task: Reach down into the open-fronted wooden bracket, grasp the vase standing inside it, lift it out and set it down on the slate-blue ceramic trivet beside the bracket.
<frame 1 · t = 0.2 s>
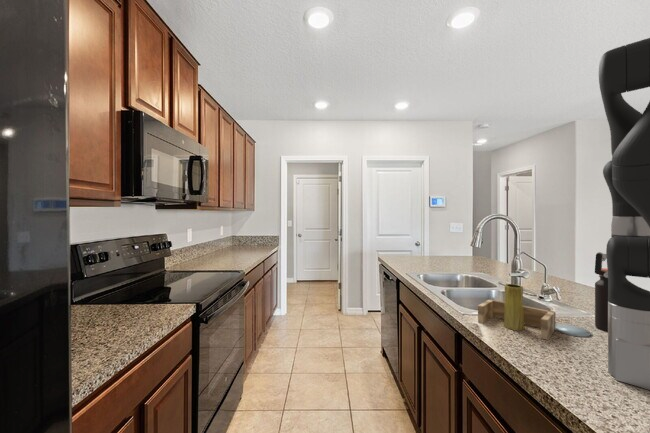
hand: (631, 293, 78), 17 cm above the worktop, tool pointing down, fingers open, 8 cm apart
wooden bracket: (514, 326, 101), on the worktop
trivet: (571, 331, 96), on the worktop
vase: (513, 327, 100), resting in wooden bracket
bottle: (608, 329, 98), on the worktop
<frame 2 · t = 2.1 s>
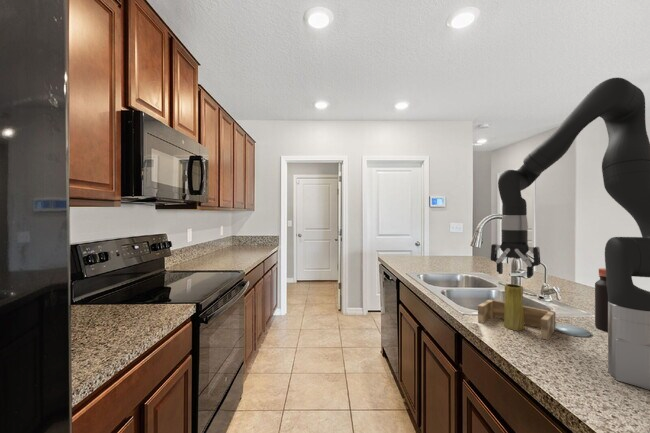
hand: (514, 275, 100), 18 cm above the worktop, tool pointing down, fingers open, 8 cm apart
nothing on the worktop moved.
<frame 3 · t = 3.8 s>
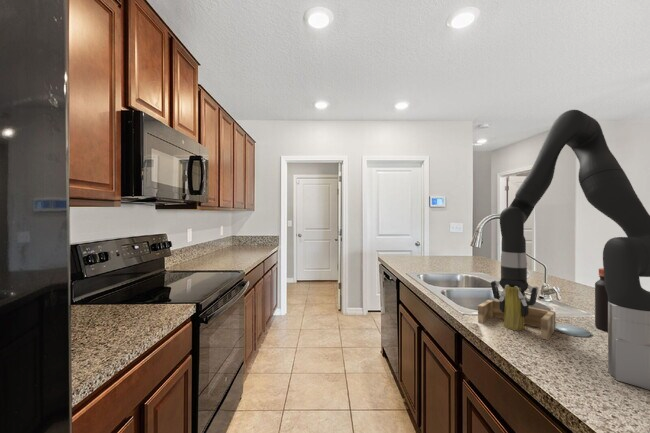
hand: (513, 313, 100), 5 cm above the worktop, tool pointing down, fingers closed on vase, 5 cm apart
vase: (513, 327, 100), resting in wooden bracket, touching gripper
everything else where it was.
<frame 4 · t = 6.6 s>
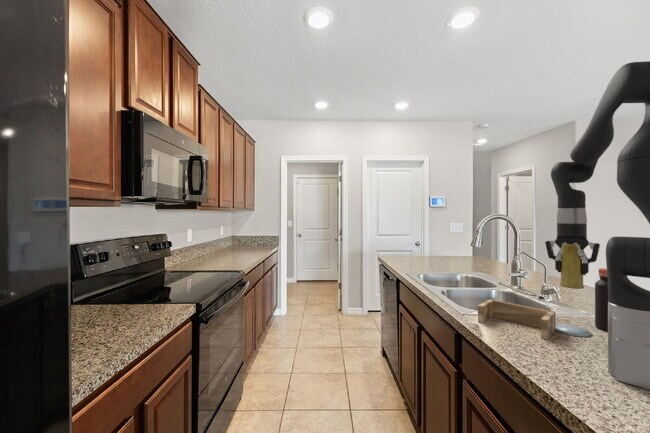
hand: (571, 273, 96), 19 cm above the worktop, tool pointing down, fingers closed on vase, 5 cm apart
vase: (571, 287, 96), point 14 cm above the worktop, touching gripper
everything else where it was.
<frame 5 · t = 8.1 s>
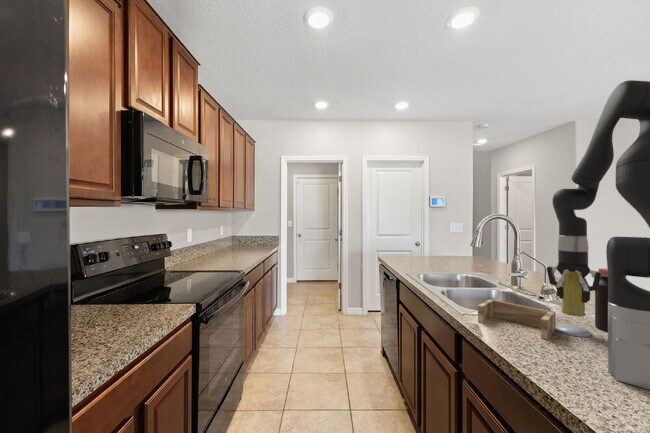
hand: (573, 300, 96), 10 cm above the worktop, tool pointing down, fingers closed on vase, 5 cm apart
vase: (573, 314, 96), point 6 cm above the worktop, touching gripper
everything else where it was.
when the fingers open (7 cm above the worktop, at t = 9.4 s): vase drops 1 cm, resting on trivet.
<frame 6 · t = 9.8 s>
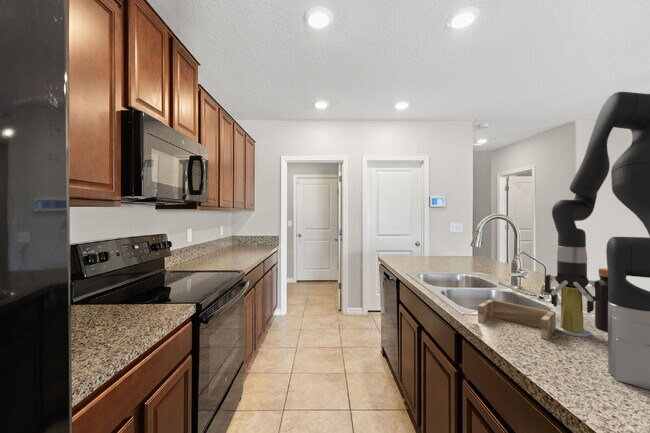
hand: (571, 309, 96), 7 cm above the worktop, tool pointing down, fingers open, 8 cm apart
vase: (571, 329, 96), resting on trivet
everything else where it was.
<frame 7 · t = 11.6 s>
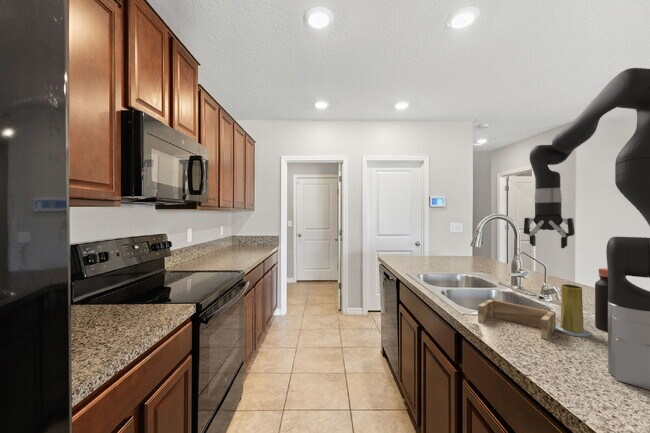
hand: (547, 247, 104), 27 cm above the worktop, tool pointing down, fingers open, 8 cm apart
nothing on the worktop moved.
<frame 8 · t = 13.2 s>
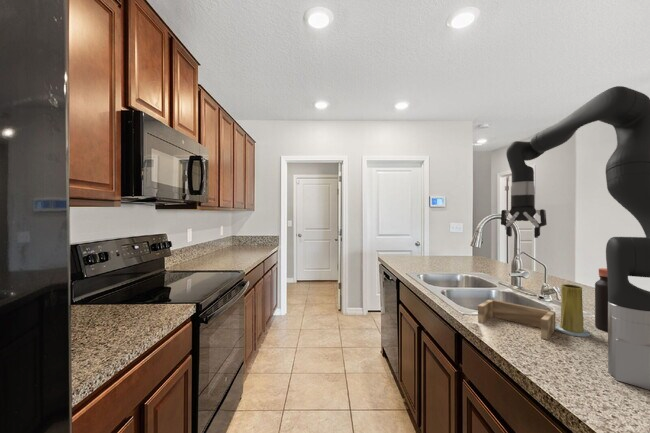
hand: (522, 237, 111), 30 cm above the worktop, tool pointing down, fingers open, 8 cm apart
nothing on the worktop moved.
at the end: vase 0.1 cm from the trivet (horizontally); vase tilted 0°; the gripper is holding nothing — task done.
